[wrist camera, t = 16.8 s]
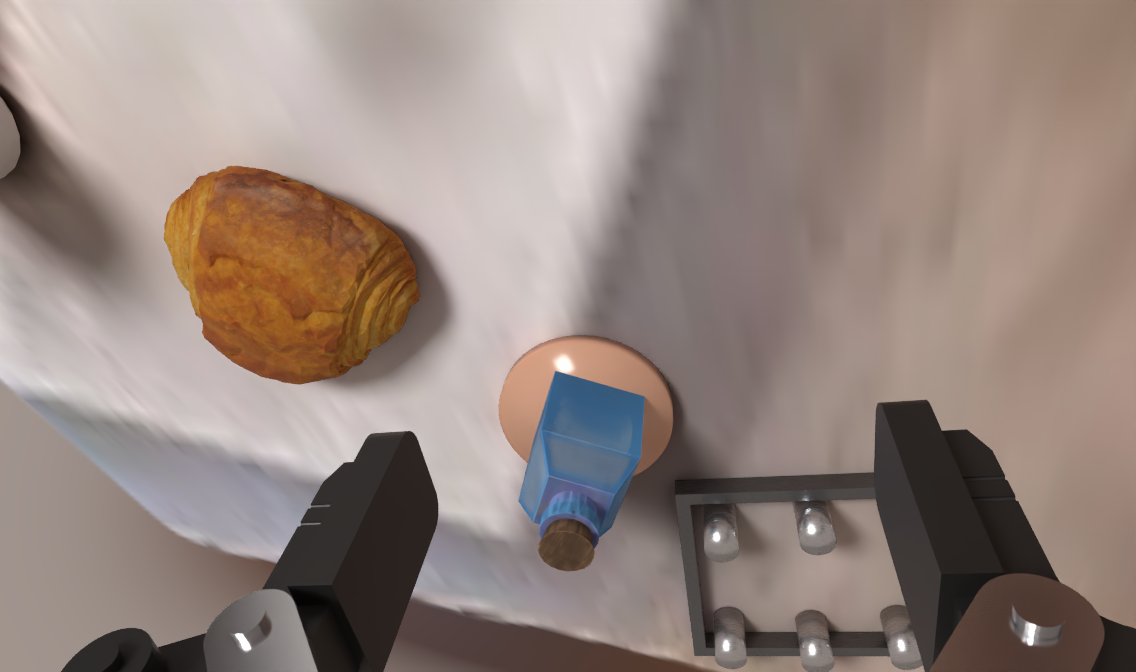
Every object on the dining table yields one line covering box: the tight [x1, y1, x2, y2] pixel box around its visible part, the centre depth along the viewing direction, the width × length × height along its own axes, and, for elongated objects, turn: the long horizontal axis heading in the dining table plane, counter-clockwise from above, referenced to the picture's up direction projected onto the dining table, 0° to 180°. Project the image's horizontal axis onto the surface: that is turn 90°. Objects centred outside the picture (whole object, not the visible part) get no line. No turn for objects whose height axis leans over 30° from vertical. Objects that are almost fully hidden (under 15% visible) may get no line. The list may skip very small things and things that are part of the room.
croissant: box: [164, 166, 420, 384], centre depth 49 cm, size 14×16×8 cm
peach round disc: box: [499, 335, 673, 476], centre depth 54 cm, size 12×12×1 cm
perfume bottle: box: [519, 371, 645, 571], centre depth 48 cm, size 6×6×12 cm
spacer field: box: [675, 473, 923, 672], centre depth 58 cm, size 19×18×4 cm
